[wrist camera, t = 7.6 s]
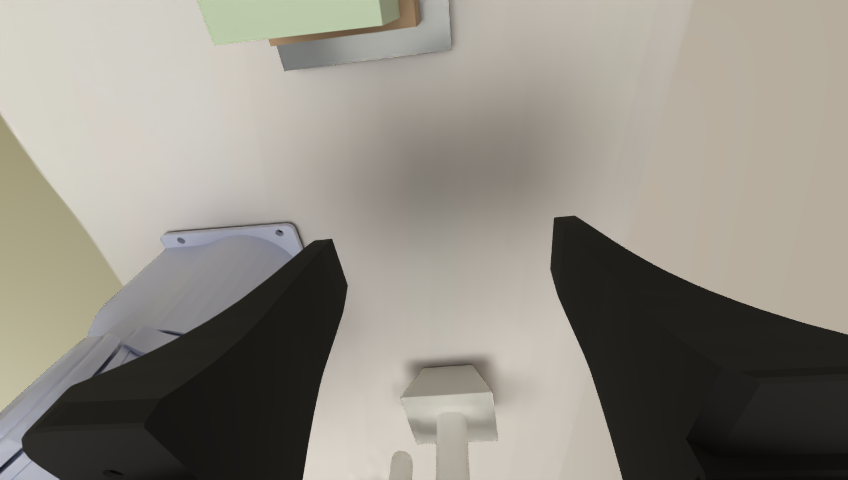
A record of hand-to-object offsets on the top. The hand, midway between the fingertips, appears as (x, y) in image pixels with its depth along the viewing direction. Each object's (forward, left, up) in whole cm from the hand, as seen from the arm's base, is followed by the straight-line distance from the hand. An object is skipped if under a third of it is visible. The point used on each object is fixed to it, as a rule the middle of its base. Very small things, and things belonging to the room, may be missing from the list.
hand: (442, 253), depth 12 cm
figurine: (-1, -22, -11) cm, 24 cm away
